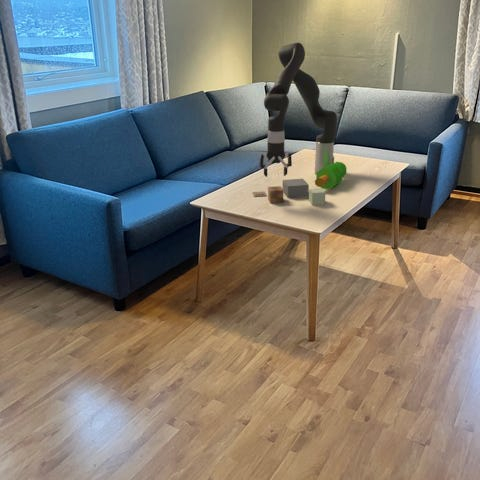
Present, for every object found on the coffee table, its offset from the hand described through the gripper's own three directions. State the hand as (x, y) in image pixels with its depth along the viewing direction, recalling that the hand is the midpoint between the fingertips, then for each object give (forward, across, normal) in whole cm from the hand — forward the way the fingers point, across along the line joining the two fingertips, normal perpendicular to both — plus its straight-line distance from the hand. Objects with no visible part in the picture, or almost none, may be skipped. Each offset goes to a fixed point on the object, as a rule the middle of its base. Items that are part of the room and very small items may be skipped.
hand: (275, 175), depth 240 cm
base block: (+12, -11, -8) cm, 18 cm away
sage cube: (+12, -18, +6) cm, 23 cm away
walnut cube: (+12, 0, 0) cm, 12 cm away
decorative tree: (+12, -33, -19) cm, 40 cm away
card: (+12, +6, -10) cm, 17 cm away
